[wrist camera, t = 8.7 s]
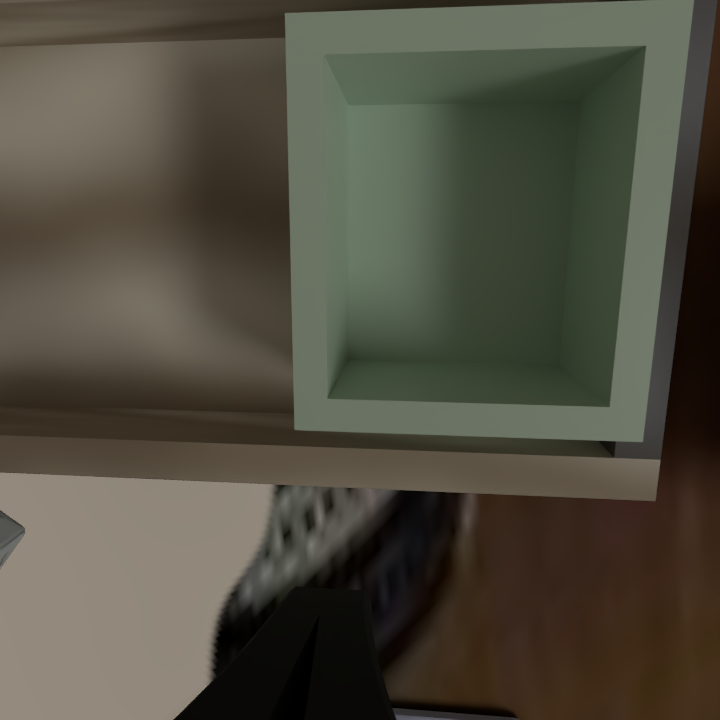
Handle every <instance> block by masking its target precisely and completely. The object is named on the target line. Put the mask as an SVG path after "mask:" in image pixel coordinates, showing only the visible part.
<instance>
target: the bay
mask: <svg viewBox="0 0 720 720" xmlns="http://www.w3.org/2000/svg"><path fill="white" fill-rule="evenodd" d="M613 1H641V0H0V472H4V473H5V472H6V473H27V474H50V475H74V476H95V477H119V478H142V479H164V480H187V481H188V480H189V481H210V482H233V483H255V484H256V483H257V484H278V485H301V486H324V487H347V488H369V489H392V490H415V491H438V492H461V493H484V494H506V495H529V496H552V497H575V498H598V499H621V500H643V501H655V500H656V492H657V484H658V476H659V468H660V460H661V452H662V444H663V436H664V428H665V420H666V412H667V403H668V395H669V387H670V379H671V371H672V363H673V355H674V347H675V339H676V331H677V323H678V315H679V307H680V299H681V290H682V282H683V274H684V266H685V258H686V250H687V242H688V234H689V226H690V218H691V210H692V202H693V194H694V185H695V177H696V169H697V161H698V153H699V145H700V137H701V129H702V121H703V113H704V105H705V97H706V89H707V81H708V72H709V64H710V56H711V48H712V40H713V32H714V24H715V16H716V8H717V0H694V6H693V14H692V23H691V32H690V40H689V49H688V57H687V66H686V75H685V83H684V92H683V101H682V109H681V118H680V126H679V135H678V144H677V152H676V161H675V170H674V178H673V187H672V195H671V204H670V213H669V221H668V230H667V239H666V247H665V256H664V264H663V273H662V282H661V290H660V299H659V308H658V316H657V325H656V333H655V342H654V351H653V359H652V368H651V377H650V385H649V394H648V402H647V411H646V420H645V428H644V437H643V442H623V441H594V440H565V439H536V438H507V437H478V436H449V435H420V434H391V433H362V432H334V431H305V430H294V387H293V344H292V300H291V257H290V213H289V170H288V126H287V83H286V39H285V13H302V12H330V11H358V10H387V9H415V8H443V7H471V6H500V5H528V4H556V3H584V2H613Z"/></svg>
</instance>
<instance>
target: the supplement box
mask: <svg viewBox="0 0 720 720" xmlns="http://www.w3.org/2000/svg"><path fill="white" fill-rule="evenodd" d="M24 534H25V528H24V527H23V526H22V525H20V524H19V523H17V522H16V521H15V520H13V519H12V518H10V517H9V516H7V515H6V514H5V513H3V512H2V511H0V569H1V567H2V566H3V564H4V563H5V561H6V560H7V558H8V557H9V556H10V554H11V553H12V551H13V550H14V549H15V547H16V546H17V544H18V543H19V542H20V540H21V538H22V537H23V536H24Z"/></svg>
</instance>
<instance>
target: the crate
mask: <svg viewBox="0 0 720 720" xmlns="http://www.w3.org/2000/svg"><path fill="white" fill-rule="evenodd" d="M693 6H694V0H641V1H613V2H584V3H556V4H528V5H500V6H471V7H443V8H415V9H387V10H358V11H330V12H302V13H285V39H286V83H287V126H288V170H289V213H290V257H291V300H292V344H293V387H294V430H305V431H334V432H362V433H391V434H420V435H449V436H478V437H507V438H536V439H565V440H594V441H623V442H643V437H644V428H645V420H646V411H647V402H648V394H649V385H650V377H651V368H652V359H653V351H654V342H655V333H656V325H657V316H658V308H659V299H660V290H661V282H662V273H663V264H664V256H665V247H666V239H667V230H668V221H669V213H670V204H671V195H672V187H673V178H674V170H675V161H676V152H677V144H678V135H679V126H680V118H681V109H682V101H683V92H684V83H685V75H686V66H687V57H688V49H689V40H690V32H691V23H692V14H693Z"/></svg>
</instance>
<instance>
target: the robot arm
mask: <svg viewBox="0 0 720 720" xmlns="http://www.w3.org/2000/svg"><path fill="white" fill-rule="evenodd" d="M174 720H519V719H517V718H511V717H499V716H486V715H474V714H461V713H449V712H436V711H424V710H411V709H399V708H392V705H391V702H390V699H389V696H388V693H387V690H386V686H385V683H384V679H383V675H382V672H381V668H380V665H379V661H378V657H377V653H376V648H375V643H374V638H373V633H372V626H371V597H370V596H369V595H368V594H367V593H366V592H365V591H358V590H341V589H325V588H308V587H295V588H294V589H292V590H291V591H290V592H289V593H288V595H287V596H286V597H285V598H284V600H283V601H282V602H281V603H280V605H279V606H278V607H277V608H276V610H275V611H274V612H273V613H272V615H271V616H270V617H269V618H268V619H267V621H266V622H265V623H264V624H263V625H262V627H261V628H260V629H259V630H258V631H257V633H256V634H255V635H254V636H253V637H252V638H251V640H250V641H249V642H248V643H247V644H246V645H245V646H244V647H243V648H242V650H241V651H240V652H239V653H238V654H237V655H236V656H235V657H234V658H233V660H232V661H231V662H230V663H229V664H228V665H227V666H226V667H225V668H224V670H223V671H222V672H221V673H220V674H219V675H218V676H217V677H216V678H215V679H214V680H213V681H212V682H211V683H210V684H209V685H208V686H207V687H206V688H205V689H204V690H203V691H202V692H201V693H200V694H199V695H198V696H197V697H196V698H195V699H194V700H193V701H192V702H191V703H190V704H189V705H188V706H187V707H186V708H185V709H184V710H183V711H182V712H181V713H180V714H179V715H178V716H177V717H176V718H175V719H174Z"/></svg>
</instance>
